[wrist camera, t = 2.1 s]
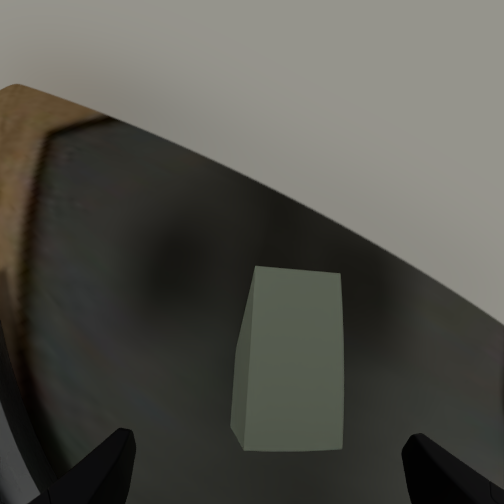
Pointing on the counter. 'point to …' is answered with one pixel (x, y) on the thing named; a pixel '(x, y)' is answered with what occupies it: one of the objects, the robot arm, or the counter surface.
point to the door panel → (290, 363)
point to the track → (18, 443)
